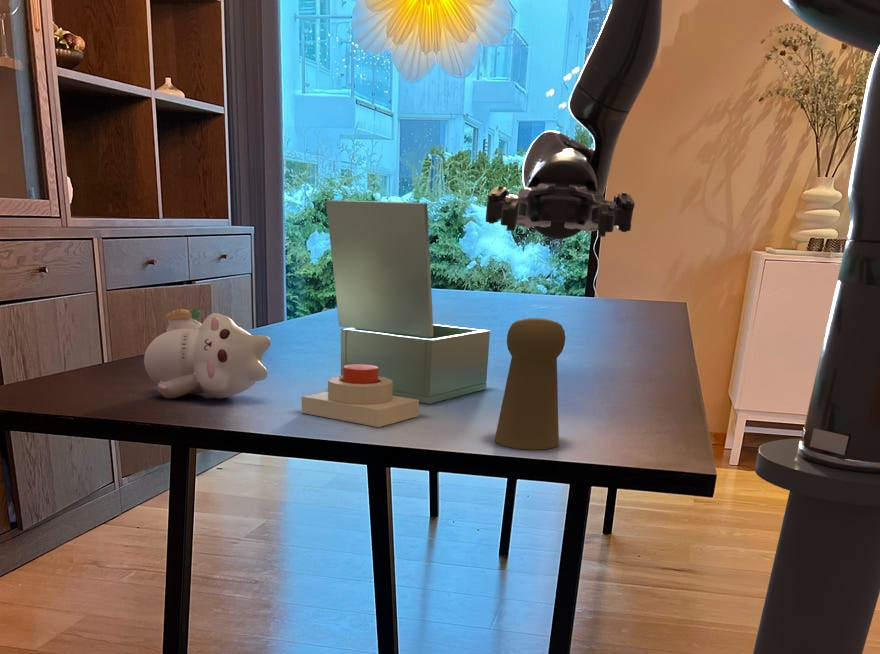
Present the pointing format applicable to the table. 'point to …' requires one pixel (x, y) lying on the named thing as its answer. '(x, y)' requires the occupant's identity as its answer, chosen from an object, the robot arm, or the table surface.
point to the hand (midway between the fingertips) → (557, 221)
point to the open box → (422, 360)
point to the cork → (531, 386)
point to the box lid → (381, 265)
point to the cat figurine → (205, 356)
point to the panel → (361, 403)
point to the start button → (360, 374)
